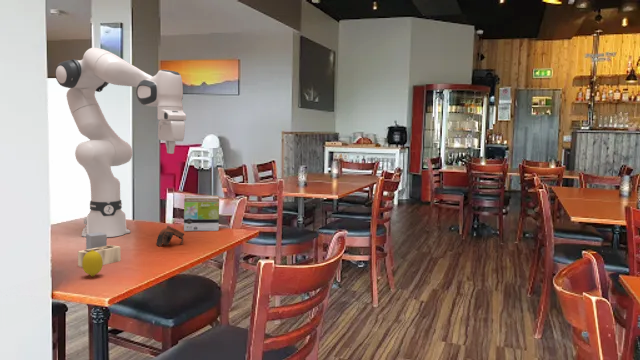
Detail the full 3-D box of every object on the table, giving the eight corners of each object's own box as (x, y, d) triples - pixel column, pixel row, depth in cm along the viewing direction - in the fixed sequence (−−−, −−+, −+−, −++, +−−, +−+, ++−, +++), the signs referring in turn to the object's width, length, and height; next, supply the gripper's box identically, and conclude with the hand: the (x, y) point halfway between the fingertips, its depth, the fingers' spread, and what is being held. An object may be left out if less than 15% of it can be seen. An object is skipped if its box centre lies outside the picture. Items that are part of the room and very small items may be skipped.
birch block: (111, 259, 175) (78, 266, 165) (110, 244, 174) (77, 250, 164) (120, 261, 172) (87, 269, 162) (120, 246, 172) (87, 252, 161)
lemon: (86, 274, 156) (85, 247, 155) (105, 274, 156) (105, 247, 156) (79, 279, 150) (79, 252, 150) (99, 279, 151) (98, 252, 150)
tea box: (183, 231, 223) (183, 197, 221) (184, 227, 232) (184, 194, 231) (219, 231, 226) (219, 197, 225) (218, 226, 236) (218, 194, 235)
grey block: (86, 257, 176) (86, 233, 176) (101, 254, 180) (101, 232, 179) (91, 259, 173) (91, 236, 172) (106, 257, 176) (106, 234, 175)
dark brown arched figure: (156, 243, 201) (166, 224, 203) (178, 254, 202) (188, 235, 203) (150, 242, 189) (161, 222, 191) (173, 254, 190) (184, 233, 192)
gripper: (153, 115, 194) (154, 152, 195) (169, 114, 177) (170, 154, 178) (170, 116, 198) (170, 152, 199) (187, 115, 180) (187, 154, 182)
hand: (170, 153), depth 188 cm, fingers closed
